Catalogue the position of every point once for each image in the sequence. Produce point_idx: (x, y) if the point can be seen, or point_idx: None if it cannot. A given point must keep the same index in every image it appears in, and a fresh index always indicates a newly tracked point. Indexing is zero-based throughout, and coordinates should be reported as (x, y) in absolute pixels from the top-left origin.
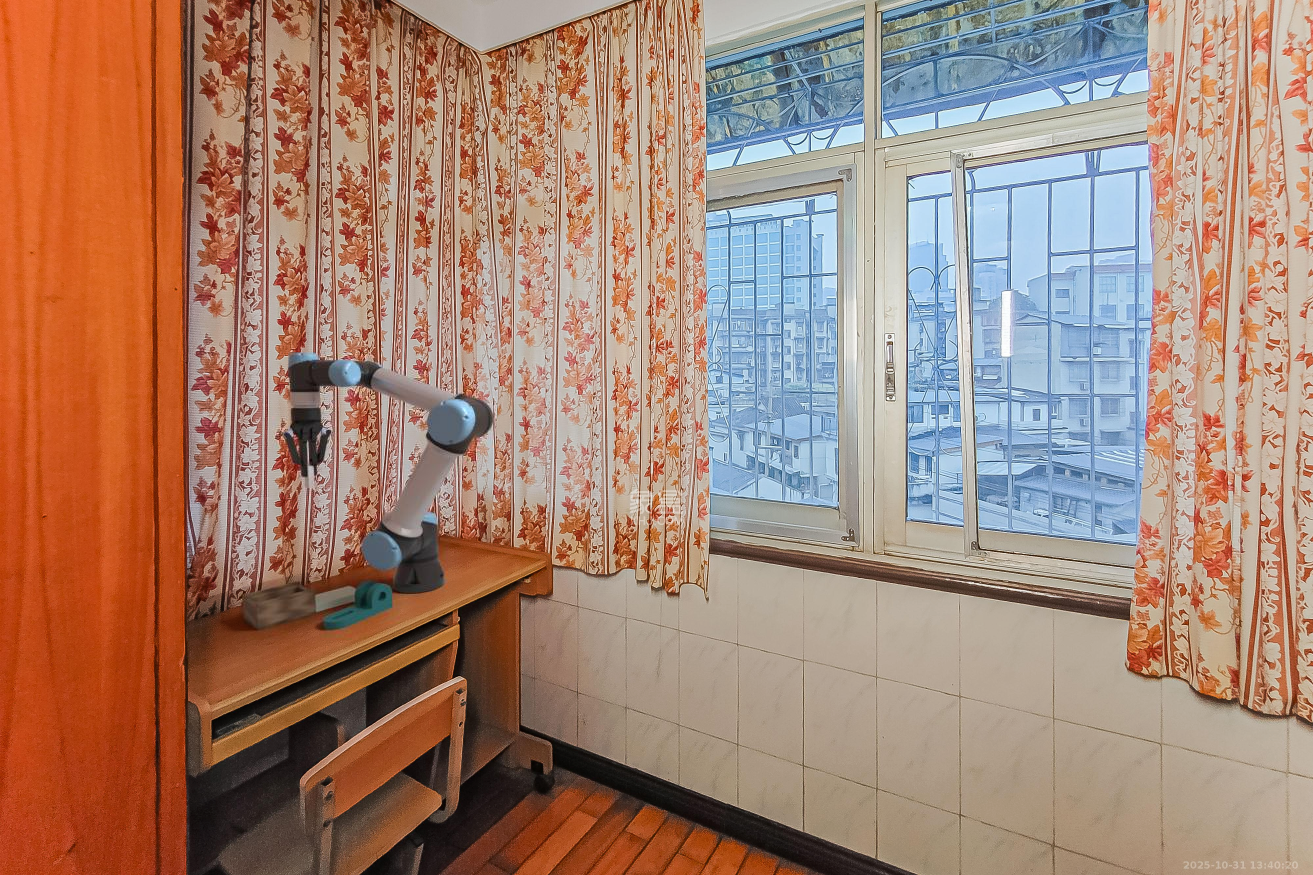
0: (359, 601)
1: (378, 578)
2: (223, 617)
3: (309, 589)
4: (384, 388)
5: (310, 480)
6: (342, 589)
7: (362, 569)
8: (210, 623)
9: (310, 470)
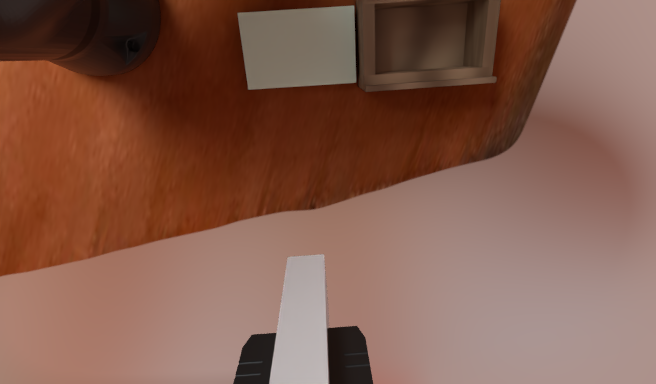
0: None
1: (170, 136)
2: (484, 126)
3: (363, 25)
4: None
5: (311, 290)
6: (270, 74)
7: (183, 223)
8: (512, 110)
9: (305, 362)
